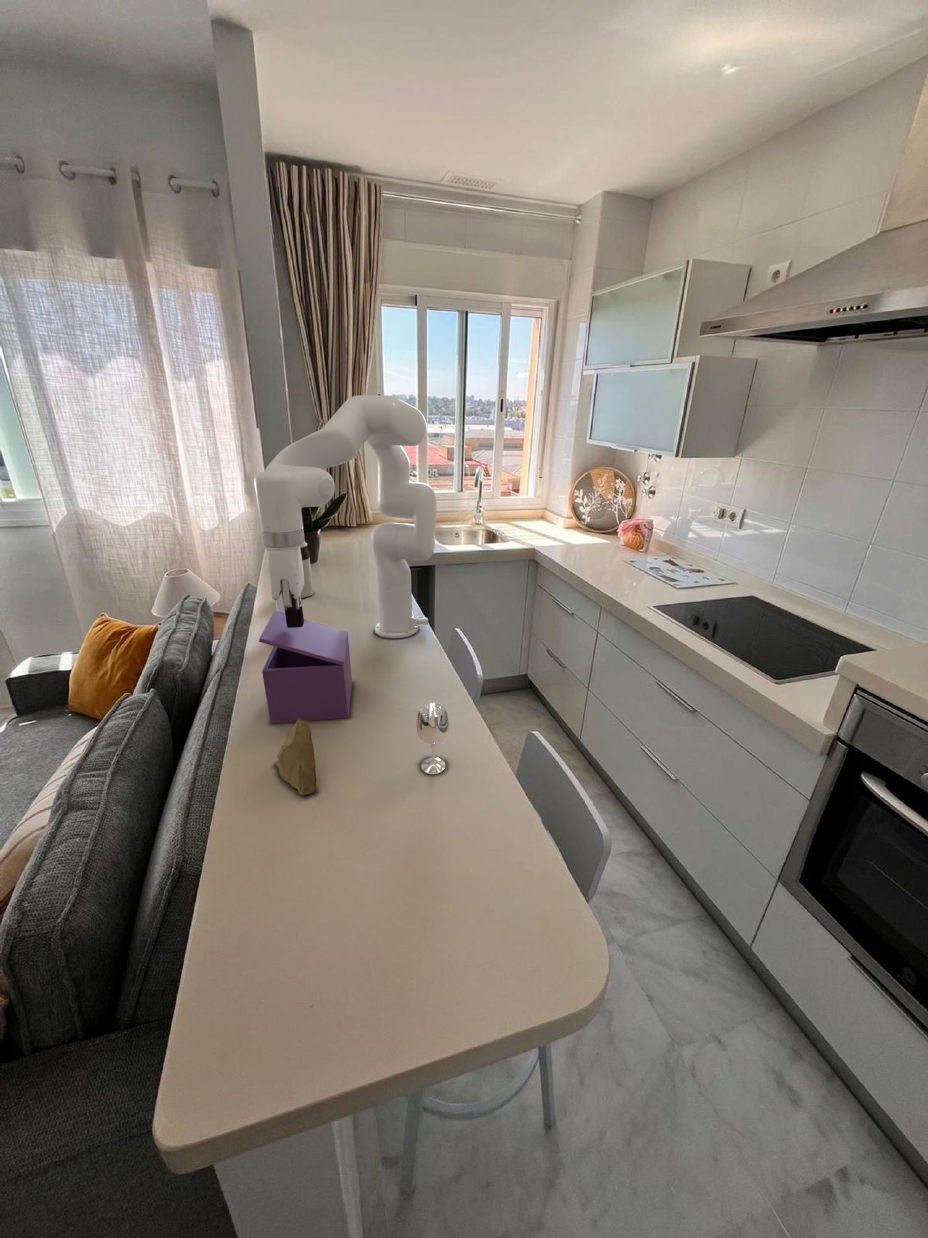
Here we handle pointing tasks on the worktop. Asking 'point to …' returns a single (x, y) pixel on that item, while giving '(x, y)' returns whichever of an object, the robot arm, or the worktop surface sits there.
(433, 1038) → the worktop surface
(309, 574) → the travel mug
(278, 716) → the purple box
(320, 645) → the lid
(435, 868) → the worktop surface
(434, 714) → the wineglass
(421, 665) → the worktop surface
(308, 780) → the rock
